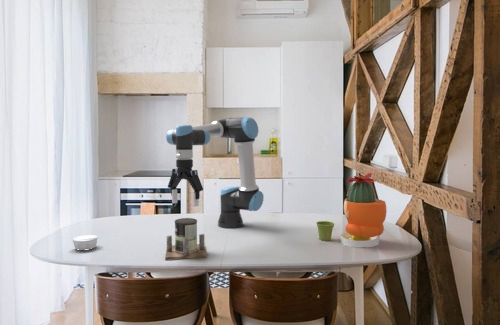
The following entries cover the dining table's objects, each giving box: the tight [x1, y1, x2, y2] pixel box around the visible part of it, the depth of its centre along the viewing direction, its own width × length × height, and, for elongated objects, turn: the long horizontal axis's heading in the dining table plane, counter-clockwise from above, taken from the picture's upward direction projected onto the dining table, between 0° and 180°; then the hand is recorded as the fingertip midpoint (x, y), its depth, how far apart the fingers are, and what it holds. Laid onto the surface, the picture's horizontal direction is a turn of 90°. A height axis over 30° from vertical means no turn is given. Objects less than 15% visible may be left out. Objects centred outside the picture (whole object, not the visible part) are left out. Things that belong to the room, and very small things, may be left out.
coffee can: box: [174, 217, 198, 253], centre depth 181 cm, size 10×10×14 cm
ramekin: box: [72, 234, 99, 250], centre depth 190 cm, size 11×11×5 cm
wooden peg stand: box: [164, 233, 207, 261], centre depth 182 cm, size 18×18×8 cm
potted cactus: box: [340, 172, 387, 248], centre depth 196 cm, size 22×22×35 cm
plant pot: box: [315, 220, 335, 242], centre depth 204 cm, size 9×9×9 cm
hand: (185, 204), depth 181 cm, fingers open, 13 cm apart
